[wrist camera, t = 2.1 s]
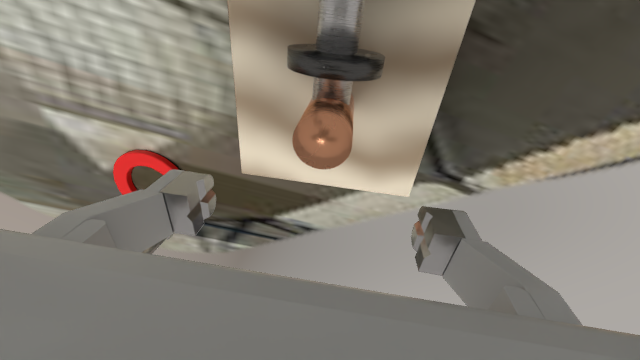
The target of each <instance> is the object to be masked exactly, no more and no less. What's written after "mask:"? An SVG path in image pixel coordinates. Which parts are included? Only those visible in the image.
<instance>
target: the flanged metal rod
mask: <svg viewBox="0 0 640 360" xmlns="http://www.w3.org/2000/svg"><path fill="white" fill-rule="evenodd" d="M364 6H365V0H319V10H318V24H317V38H316V44H293V45H289V46H288V47H287V67H288V68H289V69H290V70H292V71H294V72H297V73H300V74H303V75H307V76H311V77H314V79H313V93H312V98H311V100H310V102H309V104H308V106H307V108H306V110H305V111H304V113H303V115H302V117H301V119H300V121H299V122H298V124H297V126H296V128H295V130H294V133H293V138H292V143H293V148H294V151H295V153H296V154H297V156H298V157H299V159H300V160H301V161H302V162H304V163H305V164H307V165H308V166H310V167H313V168H316V169H332V168H335V167H337V166H339V165H341V164H342V163H343V162H344V161H345V160H346V159H347V158H348V156H349V155H350V152H351V149H352V141H353V119H354V99H353V96H352V94H351V92H352V85H353V81H371V80H376V79H379V78H381V76H382V72H383V67H384V62H385V56H384V55H382V54H380V53H376V52H373V51H369V50H364V49H358V45H359V39H360V32H361V26H362V19H363V12H364Z"/></svg>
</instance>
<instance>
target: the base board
mask: <svg viewBox="0 0 640 360" xmlns="http://www.w3.org/2000/svg"><path fill="white" fill-rule="evenodd" d="M475 1H476V0H365V6H364V12H363V19H362V26H361V32H360V39H359V45H358V49H364V50H369V51H373V52H376V53H380V54H382V55H384V56H385V62H384V67H383V72H382V76H381V78H379V79H376V80H371V81H353V85H352V92H351V94H352V96H353V99H354V119H353V141H352V149H351V152H350V155H349V156H348V158H347V159H346V160H345V161H344V162H343V163H342V164H341V165H339V166H337V167H335V168H332V169H316V168H313V167H310V166H308V165H307V164H305V163H304V162H302V161H301V160H300V159H299V157H298V156H297V154H296V153H295V151H294V148H293V143H292V138H293V133H294V130H295V128H296V126H297V124H298V122H299V121H300V119H301V117H302V115H303V113H304V111H305V110H306V108H307V106H308V104H309V102H310V100H311V98H312V93H313V79H314V77H311V76H307V75H303V74H300V73H297V72H294V71H292V70H290V69H289V68H288V67H287V47H288V46H289V45H293V44H316V38H317V24H318V10H319V0H227V3H228V15H229V27H230V38H231V50H232V62H233V74H234V85H235V97H236V109H237V121H238V132H239V144H240V156H241V168H242V173H245V174H252V175H259V176H266V177H273V178H280V179H287V180H293V181H300V182H307V183H314V184H321V185H328V186H335V187H342V188H349V189H356V190H363V191H370V192H377V193H384V194H391V195H398V196H405V197H409V195H410V192H411V189H412V186H413V183H414V180H415V177H416V174H417V171H418V168H419V165H420V162H421V159H422V157H423V154H424V151H425V148H426V145H427V142H428V139H429V136H430V133H431V130H432V127H433V124H434V121H435V118H436V115H437V112H438V109H439V107H440V104H441V101H442V98H443V95H444V92H445V89H446V86H447V83H448V80H449V77H450V74H451V71H452V68H453V65H454V62H455V60H456V57H457V54H458V51H459V48H460V45H461V42H462V39H463V36H464V33H465V30H466V27H467V24H468V21H469V18H470V15H471V13H472V10H473V7H474V4H475Z"/></svg>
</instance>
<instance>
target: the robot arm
mask: <svg viewBox="0 0 640 360" xmlns="http://www.w3.org/2000/svg"><path fill="white" fill-rule="evenodd" d="M213 186H214V181H213V177H212V176H211V175H207V174H201V173H195V172H189V171H183V170H176V169H173V170H170V171H168V172H167V173H166V174H165V175H163V176H162V177H161V178H159V179H158V180H157V181H156V182H154V183H153V184H152V185H150V186H149V187H148V188H147V189H145V190H138V191H134V192H131V193H128V194H124V195H121V196H118V197H115V198H111V199H108V200H105V201H101V202H98V203H95V204H92V205H88V206H85V207H82V208H78V209H75V210H72V211H69V212H65V213H63V214H61V215H60V216H58V217H57V218H55V219H53V220H52V221H50V222H49V223H47V224H46V225H44V226H43V227H41V228H39V229H38V230H36V231H35V232H34V233H32V234H27V233H21V232H15V231H9V230H3V229H0V360H640V335H635V334H629V333H623V332H617V331H610V330H605V329H599V328H593V327H587V326H583V325H582V324H581V322H580V321H579V320H578V319H577V317H576V316H575V314H574V313H573V312H572V310H571V309H570V308H569V306H568V305H567V303H566V302H565V301H564V299H563V298H562V297H561V295H560V294H559V293H558V292H557V291H556V290H554V289H553V288H551V287H550V286H548V285H547V284H546V283H544V282H543V281H541V280H540V279H539V278H537V277H536V276H534V275H533V274H531V273H530V272H529V271H527V270H526V269H524V268H523V267H522V266H520V265H518V264H517V263H516V262H515V261H513V260H512V259H510V258H509V257H508V256H506V255H505V254H503V253H502V252H500V251H499V250H498V249H496V248H495V247H493V246H492V245H491V244H489V243H488V242H483V241H482V239H481V238H480V236H479V234H478V232H477V231H476V229H475V227H474V226H473V224H472V222H471V220H470V219H469V217H468V215H467V213H466V212H464V211H458V210H448V209H440V208H432V207H424V206H422V207H421V208H420V210H419V213H418V217H419V221H418V222H417V223H415V224H414V227H413V230H412V237H411V240H412V246H413V249H414V250H415V251H416V252H417V253H416V256H415V259H416V263H417V267H418V271H419V272H424V273H430V274H435V275H440V276H443V278H444V279H445V281H446V282H447V283H448V284H449V285H450V286H451V288H452V289H453V290H454V291H455V292H456V293H457V295H458V296H459V297H460V298H461V299H462V301H463V302H464V303H465V304H466V305H467V306H468V307H467V306H461V305H454V304H448V303H442V302H436V301H429V300H424V299H418V298H412V297H405V296H400V295H394V294H388V293H382V292H375V291H370V290H363V289H358V288H352V287H346V286H340V285H334V284H328V283H322V282H316V281H310V280H304V279H298V278H292V277H285V276H280V275H273V274H268V273H262V272H255V271H249V270H243V269H237V268H231V267H225V266H219V265H213V264H207V263H201V262H195V261H189V260H183V259H177V258H171V257H165V256H159V255H153V254H147V253H141V252H143V251H144V250H146V249H148V248H150V247H151V246H153V245H155V244H157V243H158V242H160V241H162V240H163V239H165V238H167V237H169V236H170V235H172V234H173V233H179V234H186V235H194V236H195V235H196V234H197V233H198V231H199V230H200V229H201V227H202V226H203V225H204V219H206V218H208V217H210V216H211V214H212V213H213V211H214V208H215V206H216V194H215V193H214V192H213V191H212V189H211V188H212V187H213Z"/></svg>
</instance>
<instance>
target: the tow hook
mask: <svg viewBox="0 0 640 360" xmlns="http://www.w3.org/2000/svg"><path fill="white" fill-rule="evenodd" d="M135 166H147V167H150V168H153V169H155V170H157V171H159V172H160V173H161V174H162V175H165V174H166V173H167V172H168V171H170V170H173V169H176V170H179V169H178V168H177V167H176V166H175V165H174V164H173V163H171V162H170V161H169V160H167V159H166V158H164V157H162V156H160V155H158V154H156V153H153V152H150V151H147V150H134V151H130V152H127V153H125V154H123V155H122V156H121V157H119V158H118V159H117V161H116V162H115V164H114V170H113V174H114V179H115V182H116V184H117V187H118V189H119V190H120V192H121V193H122V195H124V194H128V193H131V192H134V191H137V189H136V188H135V186H134V184H133V182H132V178H131V173H132V169H133V168H134V167H135ZM173 234H174V233H173ZM173 234H172V235H173ZM172 235H170V236H169V237H167V238H165V239H163V240H162V241H160V242H158V243H157V244H155V245H153V246H151V247H150V248H148V249H146V250H144V251H143V252H141V253H147V254H152V253H153V252H154V251H155V250H156V249H157V248H158V247H159V246H160V245H161V244H162V243H163V242H164V241H165V240H166V239H170V237H171V236H172Z"/></svg>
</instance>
